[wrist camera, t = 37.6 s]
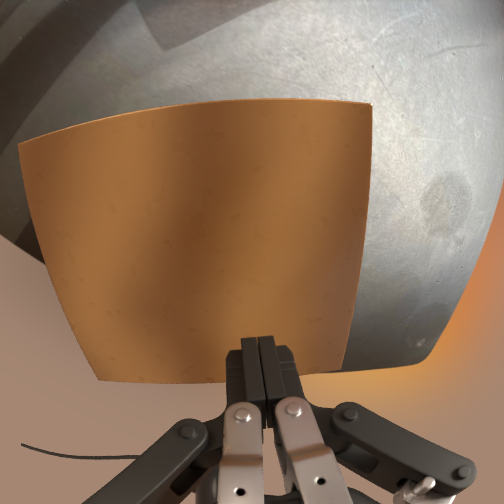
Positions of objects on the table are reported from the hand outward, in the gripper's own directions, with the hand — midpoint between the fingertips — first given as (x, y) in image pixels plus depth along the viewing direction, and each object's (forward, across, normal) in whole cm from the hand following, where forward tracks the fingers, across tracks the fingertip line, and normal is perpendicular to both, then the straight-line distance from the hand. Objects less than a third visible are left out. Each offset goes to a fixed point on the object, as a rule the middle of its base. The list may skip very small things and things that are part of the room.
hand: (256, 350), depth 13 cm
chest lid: (+5, +3, -2) cm, 6 cm away
